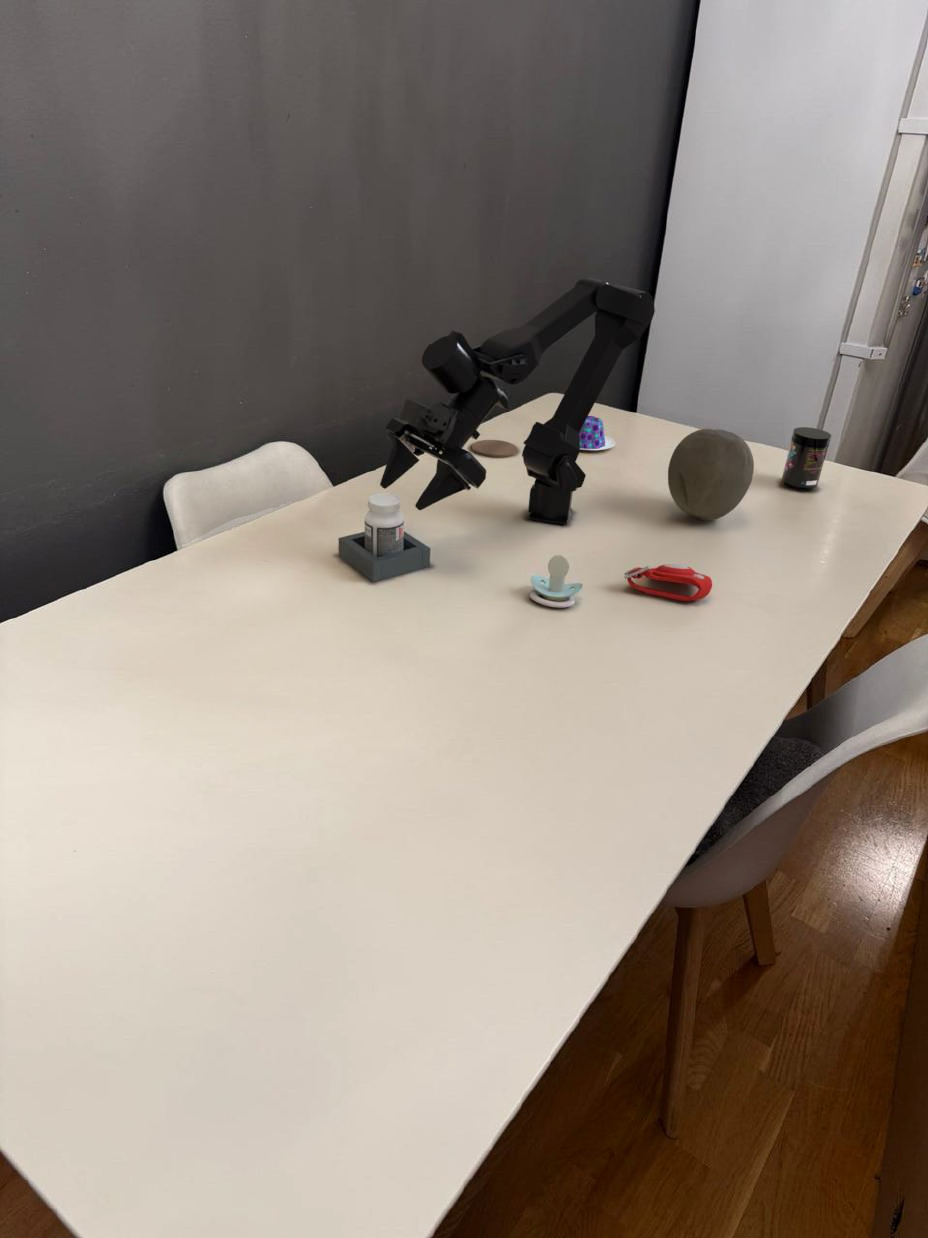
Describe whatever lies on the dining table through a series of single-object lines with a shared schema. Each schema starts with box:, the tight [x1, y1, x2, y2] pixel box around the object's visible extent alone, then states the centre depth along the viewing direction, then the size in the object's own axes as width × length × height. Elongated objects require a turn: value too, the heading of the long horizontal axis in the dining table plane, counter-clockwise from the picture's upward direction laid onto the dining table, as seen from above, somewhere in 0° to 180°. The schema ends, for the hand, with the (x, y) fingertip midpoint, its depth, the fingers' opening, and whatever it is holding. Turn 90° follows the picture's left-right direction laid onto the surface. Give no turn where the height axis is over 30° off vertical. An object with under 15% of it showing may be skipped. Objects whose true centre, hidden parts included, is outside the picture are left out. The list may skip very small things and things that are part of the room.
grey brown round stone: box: [667, 428, 755, 522], centre depth 150 cm, size 14×14×15 cm
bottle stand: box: [337, 530, 431, 583], centre depth 131 cm, size 10×10×3 cm
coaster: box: [471, 439, 518, 458], centre depth 177 cm, size 9×9×1 cm
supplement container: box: [781, 426, 832, 492], centre depth 166 cm, size 7×7×10 cm
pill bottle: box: [364, 492, 405, 558], centre depth 129 cm, size 6×6×10 cm
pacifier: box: [529, 554, 583, 608], centre depth 123 cm, size 7×6×6 cm
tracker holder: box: [623, 564, 713, 602], centre depth 127 cm, size 12×4×10 cm
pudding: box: [580, 415, 616, 451], centre depth 182 cm, size 12×12×5 cm
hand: (399, 497), depth 128 cm, fingers open, 9 cm apart
